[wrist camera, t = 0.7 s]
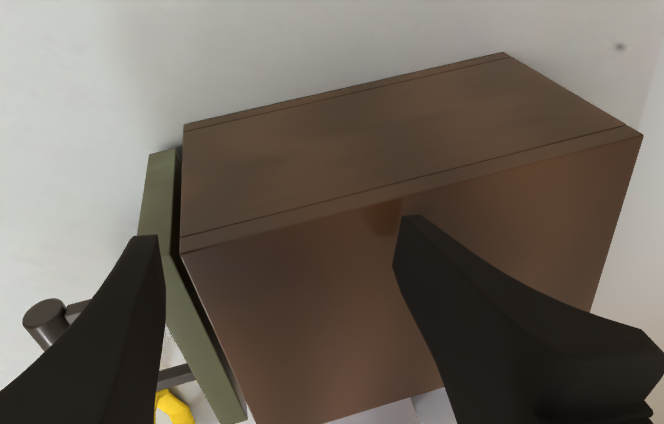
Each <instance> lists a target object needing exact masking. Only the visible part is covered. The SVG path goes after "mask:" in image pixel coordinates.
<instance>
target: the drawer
mask: <svg viewBox="0 0 664 424" xmlns="http://www.w3.org/2000/svg"><path fill="white" fill-rule="evenodd" d="M181 187H182V163H181V160H180V158H179V155H178V152H177V150H176V149H171V150H166V151H162V152H158V153H153V154H150V155H149V159H148V166H147V173H146V179H145V186H144V193H143V199H142V206H141V213H140V220H139V226H138V233H137V236H141V235H154V234H157V236H158V242H159V248H160V254H161V260H162V266H163V272H164V278H165V285H166V325H167V327H168V329H169V330H170V332H171V334H172V336H173V338H174V340H175V342H176V343H177V345H178V347H179V349H180V351H181V353H182V354H183V356H184V358H185V360H186V362H187V363H186V364H183V365H179V366H175V367H172V368H168V369H165V370H161V371H159V374H158V381H157V388H156V391H159V390H162V389H166V388H169V387H173V386H176V385H180V384H183V383H187V382H190V381H194V380H197V382H198V384H199V386H200V387H201V389H202V391H203V393H204V395H205V397H206V398H207V400H208V402H209V404H210V406H211V408H212V409H213V411H214V413H215V415H216V417H217V419H218V420H219V422H220V424H236V423H239V422H242V421H246V420H248V416H247V406H246V400H245V398H244V396H243V393H242V391H241V389H240V387H239V385H238V382H237V380H236V378H235V376H234V374H233V371H232V369H231V367H230V365H229V363H228V360H227V358H226V356H225V354H224V352H223V349H222V347H221V345H220V343H219V341H218V338H217V336H216V334H215V332H214V330H213V327H212V325H211V323H210V321H209V319H208V316H207V314H206V312H205V310H204V308H203V305H202V303H201V301H200V299H199V297H198V294H197V292H196V290H195V288H194V286H193V283H192V281H191V279H190V277H189V275H188V272H187V270H186V268H185V266H184V264H183V261H182V259H181V257H180V255H179V252H180V218H181ZM90 300H91V299H89V300H86V301H82V302H78V303H74V304H70V305H68V306H67V308H66V306H65V305H64V304H63V302H62V301H61V300H59V299H55V298H52V299H46V300H43V301H41V302H39V303H37V304H35V305H34V306H33V307H31V308H30V309H29V310H28V311H27V312H26V314H25V315H24V317H23V321H22V322H23V326H24V327H25V329H26V330H27V331H28V332H29V333H30V335H31V336H32V337H33V338H34V339H35V341H36V342H37V343H38V344H39V345H40V347H41V348H42V349H43V350H44V351H46V350H47V349H48V348H49V347H50V346H51V345H52V344H53V343H54V342H55V341H56V340H57V339H58V338H59V337H60V336H61V335H62V334H63V333H64V332H65V331H66V329H67V328H68V327H69V326H70V325H71V324H72V323H73V321H74V320H75V319H76V318H77V317H78V316H79V314H80V313H81V312H82V311H83V309H84V308H85V307H86V305H87V304H88V303H89V302H90Z"/></svg>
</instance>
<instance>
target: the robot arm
mask: <svg viewBox="0 0 664 424" xmlns="http://www.w3.org/2000/svg"><path fill="white" fill-rule="evenodd" d="M392 268H393V271H394V274H395V277H396V280H397V283H398V286H399V289H400V292H401V294H402V296H403V298H404V300H405V302H406V304H407V306H408V308H409V310H410V312H411V315H412V316H413V318H414V320H415V322H416V324H417V326H418V328H419V330H420V332H421V334H422V336H423V338H424V340H425V342H426V344H427V346H428V348H429V350H430V352H431V354H432V356H433V359H434V361H435V363H436V365H437V368H438V371H439V373H440V376H441V379H442V381H443V384H444V387H445V389H446V392H447V395H448V398H449V401H450V404H451V406H452V409H453V412H454V415H455V418H456V421H457V424H653V423H652V421H651V420H650V419H649V417H651V416H652V415H653V410H652V409H651V408H650V407H649V406H648V404H647V403H646V402H645V401H644V400H645V399H646V397H647V396H648V395H649V393H650V392H651V391H652V389H653V388H654V387H655V386H656V384H657V383H658V382H659V381H660V379H661V378H662V376H663V374H664V352H663V351H662V350H661V349H660V348H659V347H658V346H657V345H656V344H655V343H654V342H653V341H652V340H651V339H650V338H649V337H648V336H647V335H646V334H645V333H644V332H643V331H642V330H641V329H638V328H635V327H632V326H628V325H625V324H622V323H619V322H615V321H612V320H609V319H606V318H603V317H600V316H597V315H594V314H591V313H589V312H586V311H583V310H581V309H578V308H575V307H573V306H571V305H568V304H566V303H563V302H561V301H559V300H557V299H554V298H552V297H550V296H548V295H546V294H543V293H541V292H539V291H537V290H535V289H533V288H531V287H529V286H527V285H525V284H524V283H522V282H520V281H518V280H516V279H514V278H513V277H511V276H509V275H507V274H506V273H504V272H502V271H500V270H499V269H497V268H496V267H494V266H493V265H491V264H489V263H488V262H486V261H485V260H483V259H482V258H480V257H479V256H477V255H476V254H474V253H473V252H472V251H470V250H469V249H467V248H466V247H464V246H463V245H462V244H460V243H459V242H458V241H456V240H455V239H453V238H452V237H451V236H449V235H448V234H447V233H445V232H444V231H443V230H441V229H440V228H439V227H437V226H436V225H435V224H433V223H432V222H431V221H429V220H428V219H426V218H425V217H423V216H422V215H407V216H402V218H401V223H400V228H399V233H398V238H397V243H396V248H395V253H394V257H393V262H392ZM165 323H166V285H165V278H164V272H163V266H162V260H161V254H160V248H159V242H158V236H157V234H154V235H141V236H133V237H132V238H131V239H130V241H129V242H128V244H127V246H126V248H125V250H124V251H123V253H122V255H121V257H120V258H119V260H118V261H117V263H116V265H115V266H114V268H113V269H112V271H111V272H110V274H109V275H108V277H107V278H106V280H105V281H104V283H103V284H102V286H101V287H100V288H99V290H98V291H97V293H96V294H95V295H94V296H93V298H92V299H91V300H90V302H89V303H88V304H87V305H86V307H85V308H84V309H83V311H82V312H81V313H80V314H79V316H78V317H77V318H76V319H75V320H74V321H73V323H72V324H71V325H70V326H69V327H68V328H67V329H66V331H65V332H64V333H63V334H62V335H61V336H60V337H59V338H58V339H57V340H56V341H55V342H54V343H53V344H52V345H51V346H50V347H49V348H48V349H47V350H46V351H45V352H44V353H43V354H42V355H41V356H40V357H39V358H38V359H37V360H36V361H35V362H34V363H33V364H32V365H31V366H29V367H28V368H27V369H26V370H25V371H24V372H23V373H22V374H21V375H19V376H18V377H17V378H16V379H15V380H13V381H12V382H11V383H10V384H9V385H7V386H6V387H5V388H4V389H2V390H1V391H0V424H154V408H155V397H156V388H157V381H158V374H159V367H160V360H161V352H162V345H163V338H164V330H165ZM324 424H421V423H420V421H419V418H418V416H417V414H416V411H415V409H414V406H413V404H412V397H409V398H406V399H403V400H400V401H396V402H393V403H390V404H387V405H383V406H380V407H377V408H373V409H370V410H367V411H364V412H360V413H357V414H354V415H350V416H347V417H344V418H341V419H337V420H334V421H331V422H327V423H324Z"/></svg>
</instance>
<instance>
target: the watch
mask: <svg viewBox="0 0 664 424" xmlns="http://www.w3.org/2000/svg"><path fill="white" fill-rule="evenodd" d="M157 407H158V408H159V409H161V410H162V411H164V412H165V413H167V414H168V415H169V416H170V419H171V421H172V423H173V424H195V420H194V418H193V416H192V414H191V411H190V409H189V407H188V406H187V405H185V404H184V403H183V402H181V401H180V400H179V399H178V398H176V397H175V396H174V395H172V394H171V393H170V392H169V390H168V389H163V390H161V391H158V392H156V397H155V408H154V424H156V423H155V412H156V408H157Z"/></svg>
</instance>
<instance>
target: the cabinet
mask: <svg viewBox="0 0 664 424" xmlns="http://www.w3.org/2000/svg"><path fill="white" fill-rule="evenodd" d="M642 140H643V134H641V133H639V132H638V131H636V130H634V129H633V128H631V127H629V126H626V124H625V123H623V122H621V121H620V120H618V119H616V118H614V117H613V116H611V115H609V114H608V113H606V112H604V111H603V110H601V109H599V108H598V107H596V106H594V105H592V104H591V103H589V102H587V101H586V100H584V99H582V98H581V97H579V96H577V95H576V94H574V93H572V92H571V91H569V90H567V89H565V88H564V87H562V86H560V85H559V84H557V83H555V82H554V81H552V80H550V79H549V78H547V77H545V76H543V75H542V74H540V73H538V72H537V71H535V70H533V69H532V68H530V67H528V66H527V65H525V64H523V63H522V62H520V61H518V60H516V59H515V58H513V57H511V56H509V55H508V54H506V53H504V52H501V53H497V54H492V55H488V56H484V57H479V58H475V59H470V60H466V61H462V62H457V63H453V64H448V65H444V66H440V67H435V68H431V69H426V70H422V71H418V72H413V73H409V74H404V75H400V76H396V77H391V78H387V79H383V80H378V81H374V82H369V83H365V84H361V85H356V86H352V87H347V88H343V89H339V90H334V91H330V92H325V93H321V94H317V95H312V96H308V97H303V98H299V99H295V100H290V101H286V102H282V103H277V104H273V105H268V106H264V107H260V108H255V109H251V110H246V111H242V112H238V113H233V114H229V115H224V116H220V117H216V118H211V119H207V120H203V121H198V122H194V123H189V124H185V125H184V130H183V157H182V187H181V218H180V252H179V255H180V257H181V259H182V261H183V264H184V266H185V268H186V270H187V272H188V275H189V277H190V279H191V281H192V283H193V286H194V288H195V290H196V292H197V294H198V297H199V299H200V301H201V303H202V305H203V308H204V310H205V312H206V314H207V316H208V319H209V321H210V323H211V325H212V327H213V330H214V332H215V334H216V336H217V338H218V341H219V343H220V345H221V347H222V349H223V352H224V354H225V356H226V358H227V360H228V363H229V365H230V367H231V369H232V371H233V374H234V376H235V378H236V380H237V382H238V385H239V387H240V389H241V391H242V393H243V396H244V398H245V400H246V402H247V405H248V407H249V409H250V411H251V413H252V416H253V418H254V420H255V422H256V424H324V423H327V422H331V421H334V420H337V419H341V418H344V417H347V416H350V415H354V414H357V413H360V412H364V411H367V410H370V409H373V408H377V407H380V406H383V405H387V404H390V403H393V402H396V401H400V400H403V399H406V398H409V397H413V396H416V395H419V394H423V393H426V392H429V391H432V390H436V389H439V388H442V387H444V384H443V381H442V379H441V376H440V373H439V371H438V368H437V365H436V363H435V361H434V359H433V356H432V354H431V352H430V350H429V348H428V346H427V344H426V342H425V340H424V338H423V336H422V334H421V332H420V330H419V328H418V326H417V324H416V322H415V320H414V318H413V316H412V315H411V312H410V310H409V308H408V306H407V304H406V302H405V300H404V298H403V296H402V294H401V292H400V289H399V286H398V283H397V280H396V277H395V274H394V271H393V268H392V262H393V257H394V253H395V248H396V243H397V238H398V233H399V228H400V223H401V218H402V216H407V215H422V216H423V217H425V218H426V219H428V220H429V221H431V222H432V223H433V224H435V225H436V226H437V227H439V228H440V229H441V230H443V231H444V232H445V233H447V234H448V235H449V236H451V237H452V238H453V239H455V240H456V241H458V242H459V243H460V244H462V245H463V246H464V247H466V248H467V249H469V250H470V251H472V252H473V253H474V254H476V255H477V256H479V257H480V258H482V259H483V260H485V261H486V262H488V263H489V264H491V265H493V266H494V267H496V268H497V269H499V270H500V271H502V272H504V273H506V274H507V275H509V276H511V277H513V278H514V279H516V280H518V281H520V282H522V283H524V284H525V285H527V286H529V287H531V288H533V289H535V290H537V291H539V292H541V293H543V294H546V295H548V296H550V297H552V298H554V299H557V300H559V301H561V302H563V303H566V304H568V305H571V306H573V307H575V308H578V309H581V310H583V311H586V312H589V313H590V310H591V306H592V303H593V300H594V297H595V293H596V290H597V287H598V284H599V280H600V277H601V274H602V270H603V267H604V264H605V261H606V257H607V254H608V251H609V247H610V244H611V241H612V238H613V234H614V231H615V228H616V225H617V221H618V218H619V215H620V212H621V208H622V205H623V202H624V198H625V195H626V192H627V188H628V185H629V182H630V179H631V175H632V172H633V169H634V166H635V163H636V159H637V156H638V153H639V149H640V146H641V143H642Z"/></svg>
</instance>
